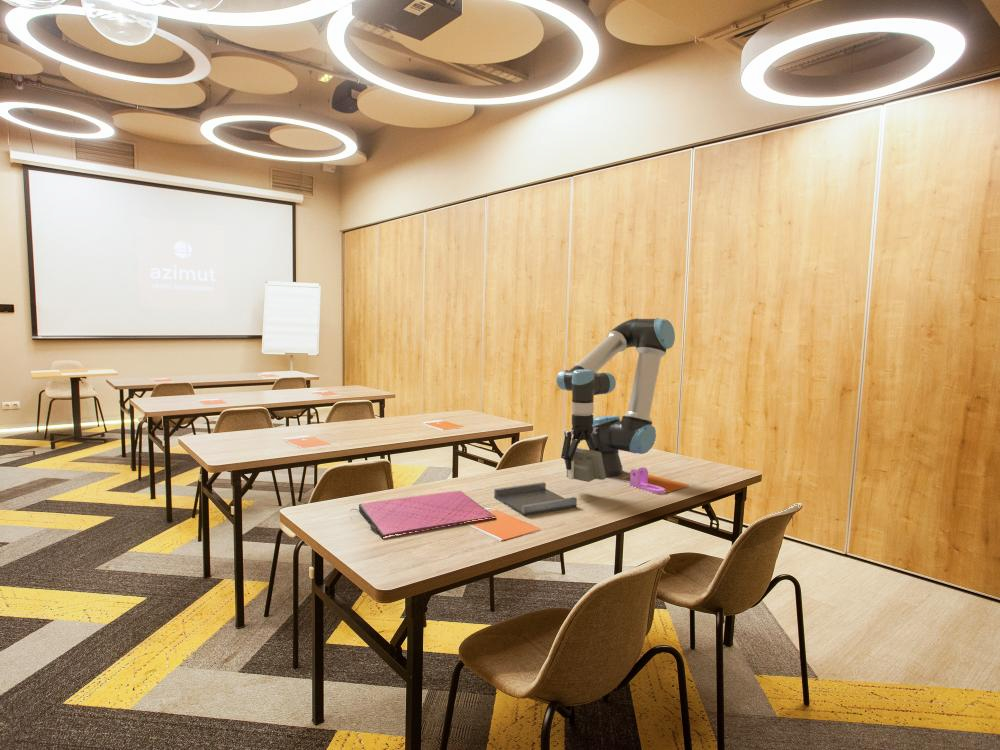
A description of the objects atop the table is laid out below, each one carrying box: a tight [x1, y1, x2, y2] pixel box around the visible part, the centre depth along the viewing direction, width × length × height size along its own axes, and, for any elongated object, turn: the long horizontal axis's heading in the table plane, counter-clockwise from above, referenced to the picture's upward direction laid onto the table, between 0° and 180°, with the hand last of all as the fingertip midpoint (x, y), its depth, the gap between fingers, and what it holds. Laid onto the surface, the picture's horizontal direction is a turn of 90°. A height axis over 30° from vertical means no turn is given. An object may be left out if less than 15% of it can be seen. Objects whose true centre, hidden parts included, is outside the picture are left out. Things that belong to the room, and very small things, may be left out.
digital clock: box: [561, 447, 607, 483], centre depth 200 cm, size 16×9×11 cm, turn 38°
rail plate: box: [493, 481, 578, 517], centre depth 192 cm, size 20×21×3 cm
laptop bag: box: [350, 490, 496, 539], centre depth 177 cm, size 40×4×27 cm
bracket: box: [629, 466, 666, 494], centre depth 208 cm, size 13×6×7 cm, turn 36°
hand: (581, 476), depth 200 cm, fingers closed on digital clock, 9 cm apart
